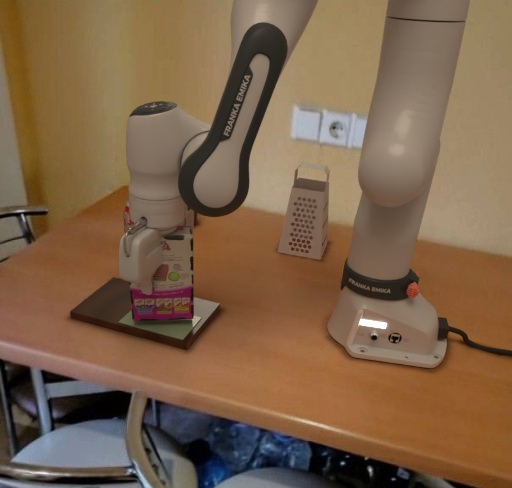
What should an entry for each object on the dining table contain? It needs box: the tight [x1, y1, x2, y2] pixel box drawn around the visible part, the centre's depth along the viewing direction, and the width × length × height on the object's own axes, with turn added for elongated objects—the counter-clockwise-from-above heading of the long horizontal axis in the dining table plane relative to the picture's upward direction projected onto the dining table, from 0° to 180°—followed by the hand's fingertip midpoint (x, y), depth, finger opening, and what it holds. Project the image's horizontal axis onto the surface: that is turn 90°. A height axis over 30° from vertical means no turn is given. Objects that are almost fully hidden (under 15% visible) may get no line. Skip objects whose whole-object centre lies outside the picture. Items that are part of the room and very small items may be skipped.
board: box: [69, 276, 221, 351], centre depth 108 cm, size 24×15×2 cm, turn 70°
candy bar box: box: [127, 226, 195, 321], centre depth 99 cm, size 11×5×16 cm, turn 99°
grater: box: [277, 162, 331, 261], centre depth 132 cm, size 10×10×20 cm
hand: (159, 282), depth 99 cm, fingers closed on candy bar box, 6 cm apart
